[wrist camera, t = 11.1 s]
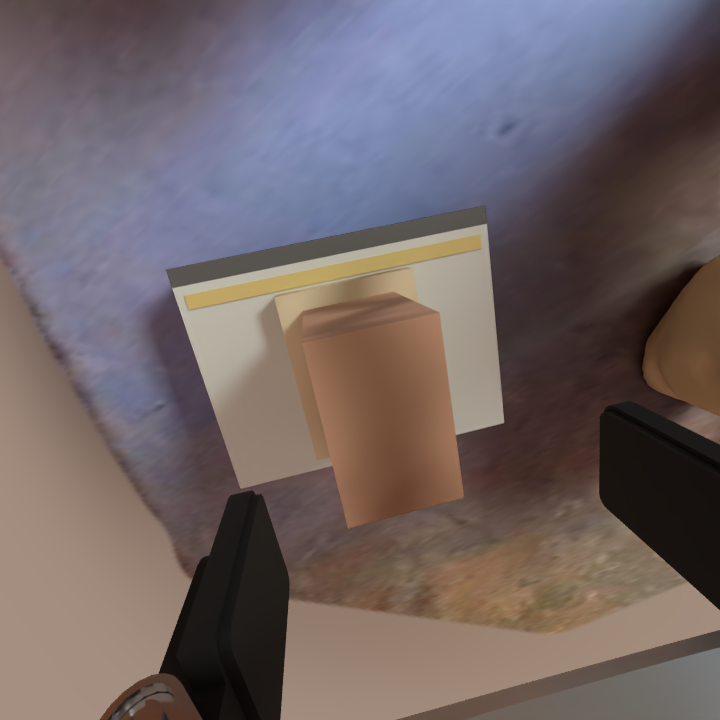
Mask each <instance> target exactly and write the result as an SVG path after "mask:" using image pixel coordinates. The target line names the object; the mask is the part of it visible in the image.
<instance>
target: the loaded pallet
mask: <svg viewBox="0 0 720 720" xmlns="http://www.w3.org/2000/svg"><path fill="white" fill-rule="evenodd" d="M274 299H275V303H276V307H277V310H278V314H279V318H280V322H281V326H282V329H283V333H284V337H285V341H286V345H287V348H288V352H289V356H290V360H291V364H292V367H293V371H294V375H295V379H296V383H297V386H298V390H299V394H300V398H301V402H302V405H303V409H304V413H305V417H306V421H307V424H308V428H309V432H310V436H311V440H312V443H313V447H314V451H315V455H316V459H317V460H321V459H325V458H329V457H330V458H331V462H332V466H333V470H334V474H335V478H336V482H337V486H338V490H339V494H340V498H341V502H342V506H343V510H344V514H345V518H346V522H347V526H348V528H352V527H356V526H359V525H363V524H367V523H371V522H375V521H378V520H382V519H386V518H390V517H393V516H397V515H401V514H405V513H409V512H412V511H416V510H420V509H424V508H427V507H431V506H435V505H439V504H442V503H446V502H450V501H454V500H458V499H461V498H464V494H463V486H462V478H461V471H460V463H459V456H458V448H457V441H456V433H455V426H454V418H453V411H452V403H451V395H450V388H449V380H448V373H447V365H446V358H445V350H444V343H443V335H442V328H441V320H440V312H437V311H435V310H433V309H431V308H429V307H426V306H424V305H422V304H420V303H418V298H417V291H416V284H415V278H414V271H413V268H409V267H404V268H399V269H394V270H390V271H385V272H380V273H375V274H371V275H366V276H361V277H357V278H352V279H347V280H342V281H338V282H333V283H328V284H324V285H319V286H314V287H309V288H305V289H300V290H295V291H291V292H286V293H281V294H277V295H276V296H275V297H274Z"/></svg>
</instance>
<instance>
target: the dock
mask: <svg viewBox="0 0 720 720" xmlns="http://www.w3.org/2000/svg"><path fill="white" fill-rule="evenodd" d="M404 267H409V268H413V271H414V278H415V284H416V291H417V298H418V303H420V304H422V305H424V306H426V307H429V308H431V309H433V310H435V311H437V312H440V320H441V328H442V335H443V343H444V350H445V358H446V365H447V373H448V380H449V388H450V395H451V403H452V411H453V418H454V426H455V433H456V435H458V434H462V433H466V432H470V431H474V430H478V429H482V428H486V427H490V426H494V425H498V424H502V423H504V414H503V403H502V391H501V380H500V368H499V357H498V345H497V334H496V322H495V311H494V299H493V288H492V276H491V265H490V253H489V242H488V230H487V219H486V207H485V206H480V207H475V208H470V209H465V210H460V211H455V212H450V213H445V214H440V215H435V216H430V217H425V218H420V219H415V220H411V221H406V222H401V223H396V224H391V225H386V226H381V227H376V228H371V229H366V230H361V231H356V232H351V233H346V234H341V235H336V236H331V237H326V238H321V239H316V240H311V241H306V242H301V243H296V244H291V245H286V246H281V247H276V248H271V249H267V250H262V251H257V252H252V253H247V254H242V255H237V256H232V257H227V258H222V259H217V260H212V261H207V262H202V263H197V264H192V265H187V266H182V267H177V268H172V269H167V270H166V271H167V274H168V277H169V280H170V283H171V286H172V289H173V292H174V295H175V298H176V301H177V304H178V307H179V310H180V313H181V315H182V318H183V321H184V324H185V327H186V330H187V333H188V336H189V339H190V342H191V345H192V348H193V351H194V354H195V357H196V359H197V362H198V365H199V368H200V371H201V374H202V377H203V380H204V383H205V386H206V389H207V392H208V395H209V398H210V401H211V403H212V406H213V409H214V412H215V415H216V418H217V421H218V424H219V427H220V430H221V433H222V436H223V439H224V442H225V445H226V448H227V450H228V453H229V456H230V459H231V462H232V465H233V468H234V471H235V474H236V477H237V480H238V483H239V486H240V489H242V488H246V487H250V486H254V485H258V484H262V483H266V482H270V481H274V480H278V479H282V478H286V477H290V476H294V475H298V474H302V473H306V472H310V471H314V470H318V469H322V468H326V467H330V466H332V462H331V458H330V457H329V458H325V459H321V460H317V459H316V455H315V451H314V447H313V443H312V440H311V436H310V432H309V428H308V424H307V421H306V417H305V413H304V409H303V405H302V402H301V398H300V394H299V390H298V386H297V383H296V379H295V375H294V371H293V367H292V364H291V360H290V356H289V352H288V348H287V345H286V341H285V337H284V333H283V329H282V326H281V322H280V318H279V314H278V310H277V307H276V303H275V299H274V297H275V296H276V295H277V294H281V293H286V292H291V291H295V290H300V289H305V288H309V287H314V286H319V285H324V284H328V283H333V282H338V281H342V280H347V279H352V278H357V277H361V276H366V275H371V274H375V273H380V272H385V271H390V270H394V269H399V268H404Z"/></svg>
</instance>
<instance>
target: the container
mask: <svg viewBox="0 0 720 720" xmlns="http://www.w3.org/2000/svg"><path fill="white" fill-rule="evenodd" d="M642 369H643V373H644V375H643V378H644V379H645V380H646V381H647V385H648V386H650V387H651V388H653V389H654V390H656V391H658V392H660V393H663V394H665V395H668V396H670V397H673V398H675V399H679V400H683V401H685V402H687V403H689V404H691V405H693V406H695V407H698V408H701V409H703V410H706V411H708V412H711V413H713V414H716V415H718V416H720V256H718V257H716V258H714V259H712V260H711V261H710V262H708V263H707V264H706V265H704V266H703V267H701V268H700V270H699V271H698V272H697V273H696V274H695V275H694V277H693V278H692V279H691V280H690V282H689V283H688V284H687V285H686V286H685V287H684V288H683V289H682V291H681V292H680V294H679V295H678V296H677V298H676V299H675V300H674V302H673V304H672V305H671V307H670V308H669V310H668V311H667V312H666V314H665V315H664V316H663V318H662V319H661V321H660V322H659V323H658V325H657V326H656V327H655V329H654V330H653V332H652V333H651V335H650V336H649V338H648V340H647V343H646V347H645V356H644V359H643V366H642Z"/></svg>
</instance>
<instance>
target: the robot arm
mask: <svg viewBox="0 0 720 720" xmlns="http://www.w3.org/2000/svg"><path fill="white" fill-rule="evenodd" d="M599 494H600V499H601V501H602V503H603V504H604V506H605V507H606V508H607V509H608V510H609V511H610V512H611V513H612V514H614V515H615V516H616V517H617V518H618V519H619V520H620V521H621V522H622V523H624V524H625V525H626V526H627V527H628V528H629V529H630V530H631V531H632V532H634V533H635V534H636V535H637V536H638V537H639V538H640V539H641V540H642V541H644V542H645V543H646V544H647V545H648V546H649V547H650V548H651V549H652V550H654V551H655V552H656V553H657V554H658V555H659V556H660V557H661V558H662V559H664V560H665V561H666V562H667V563H668V564H669V565H670V566H671V567H673V568H674V569H675V570H676V571H677V572H678V573H679V574H680V575H681V576H683V577H684V578H685V579H686V580H687V581H688V582H689V583H690V584H691V585H693V586H694V587H695V588H696V589H697V590H698V591H699V592H700V593H701V594H703V595H704V596H705V597H706V598H707V599H708V600H709V601H710V602H712V603H713V604H714V605H715V606H716V607H717V608H718V609H719V610H720V445H719V444H717V443H715V442H713V441H711V440H709V439H707V438H705V437H703V436H701V435H699V434H697V433H695V432H693V431H691V430H689V429H687V428H685V427H683V426H680V425H678V424H676V423H674V422H672V421H670V420H668V419H666V418H664V417H662V416H660V415H658V414H656V413H654V412H652V411H650V410H648V409H646V408H644V407H642V406H640V405H638V404H636V403H634V402H630V401H629V402H623V403H619V404H615V405H610V406H608V407H606V408H605V410H604V413H602V414H601V416H600V473H599ZM288 601H289V576H288V572H287V568H286V565H285V562H284V559H283V556H282V553H281V550H280V547H279V544H278V541H277V538H276V535H275V532H274V529H273V526H272V522H271V519H270V516H269V513H268V510H267V507H266V504H265V501H264V498H263V496H262V495H261V494H259V495H255V493H254V491H252V490H251V491H247V492H243V493H238V494H234V495H231V496H230V497H229V499H228V502H227V505H226V508H225V511H224V514H223V517H222V519H221V522H220V525H219V528H218V531H217V534H216V537H215V540H214V543H213V546H212V549H211V552H210V555H209V556H206V557H203V558H202V559H201V560H200V562H199V564H198V566H197V569H196V571H195V574H194V577H193V580H192V583H191V585H190V588H189V591H188V594H187V597H186V599H185V602H184V605H183V608H182V610H181V613H180V616H179V619H178V621H177V624H176V627H175V630H174V632H173V635H172V638H171V641H170V643H169V647H168V649H167V652H166V655H165V657H164V660H163V663H162V666H161V668H160V671H159V674H156V675H151V676H149V677H147V678H145V679H142V680H140V681H138V682H137V683H135V684H134V685H133V686H131V687H130V688H128V689H127V690H126V691H124V692H123V693H122V694H121V695H120V696H119V697H118V698H117V699H116V700H115V701H114V702H113V703H112V704H111V705H110V707H109V708H108V709H107V710H106V712H105V713H104V714H103V716H102V717H101V719H100V720H280V716H281V715H280V714H281V701H282V686H283V673H284V658H285V643H286V630H287V615H288ZM398 720H720V630H718V631H715V632H711V633H707V634H704V635H700V636H696V637H692V638H689V639H685V640H681V641H678V642H674V643H670V644H666V645H663V646H659V647H655V648H652V649H648V650H645V651H641V652H637V653H634V654H630V655H626V656H623V657H619V658H615V659H612V660H608V661H605V662H601V663H597V664H594V665H590V666H587V667H583V668H579V669H576V670H572V671H568V672H565V673H561V674H558V675H554V676H551V677H547V678H543V679H539V680H536V681H532V682H529V683H525V684H521V685H518V686H514V687H511V688H507V689H504V690H500V691H497V692H494V693H490V694H486V695H483V696H479V697H476V698H472V699H468V700H465V701H461V702H458V703H455V704H451V705H447V706H444V707H440V708H437V709H433V710H430V711H426V712H422V713H419V714H415V715H412V716H408V717H405V718H402V719H398Z"/></svg>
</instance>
